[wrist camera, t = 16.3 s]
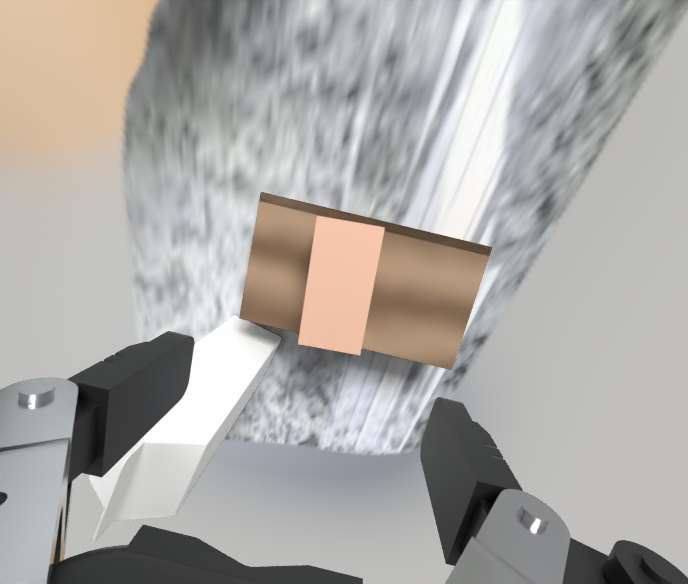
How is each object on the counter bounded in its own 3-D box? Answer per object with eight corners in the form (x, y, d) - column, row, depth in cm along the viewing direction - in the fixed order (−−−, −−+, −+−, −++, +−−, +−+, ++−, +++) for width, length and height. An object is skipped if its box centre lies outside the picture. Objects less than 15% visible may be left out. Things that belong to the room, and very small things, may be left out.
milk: (216, 357, 39) (36, 522, 18) (235, 313, 38) (65, 434, 17) (263, 379, 40) (140, 569, 18) (283, 336, 38) (177, 486, 17)
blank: (324, 216, 29) (316, 216, 24) (381, 226, 29) (384, 228, 24) (307, 324, 31) (297, 344, 26) (360, 334, 31) (360, 355, 26)
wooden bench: (278, 196, 35) (260, 191, 29) (469, 242, 35) (492, 247, 29) (259, 302, 38) (239, 318, 31) (437, 345, 37) (451, 370, 31)
